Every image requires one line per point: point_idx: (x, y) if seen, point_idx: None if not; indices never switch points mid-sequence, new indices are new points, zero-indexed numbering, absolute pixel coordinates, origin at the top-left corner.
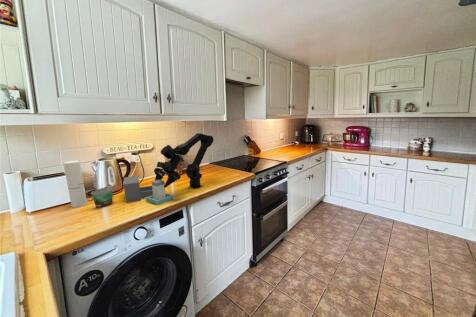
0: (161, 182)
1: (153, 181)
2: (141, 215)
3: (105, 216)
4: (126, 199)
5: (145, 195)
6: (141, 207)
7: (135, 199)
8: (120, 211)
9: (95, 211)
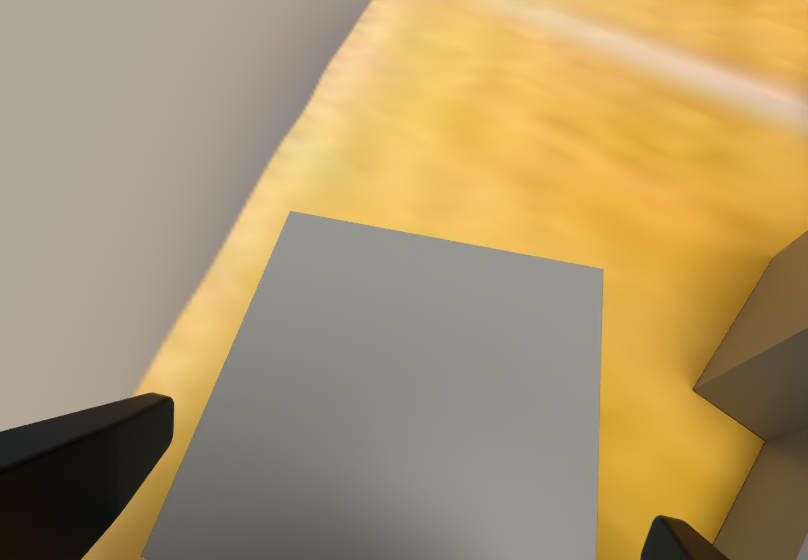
0: (226, 394)
1: (559, 311)
2: (314, 110)
3: (596, 33)
4: (803, 238)
5: (765, 497)
6: (463, 222)
7: (741, 325)
8: (579, 110)
9: (788, 58)
